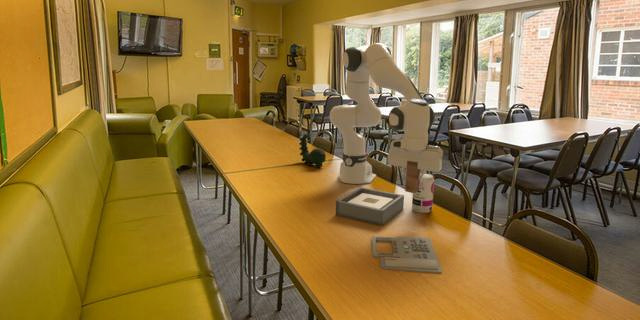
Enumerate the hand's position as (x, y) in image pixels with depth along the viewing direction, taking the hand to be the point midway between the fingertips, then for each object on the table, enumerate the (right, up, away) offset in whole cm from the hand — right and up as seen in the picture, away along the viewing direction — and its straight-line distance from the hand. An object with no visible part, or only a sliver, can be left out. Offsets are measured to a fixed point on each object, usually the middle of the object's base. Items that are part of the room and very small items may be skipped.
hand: (412, 179), depth 154 cm
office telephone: (-8, -24, -23) cm, 34 cm away
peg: (0, -5, +1) cm, 5 cm away
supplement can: (+7, -14, +15) cm, 22 cm away
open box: (-15, -14, +12) cm, 24 cm away
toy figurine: (-39, +4, +87) cm, 96 cm away
